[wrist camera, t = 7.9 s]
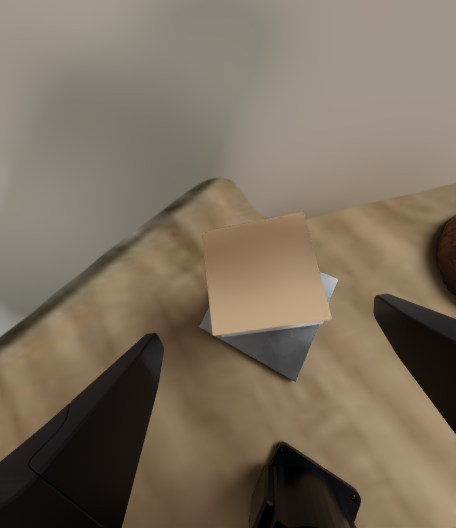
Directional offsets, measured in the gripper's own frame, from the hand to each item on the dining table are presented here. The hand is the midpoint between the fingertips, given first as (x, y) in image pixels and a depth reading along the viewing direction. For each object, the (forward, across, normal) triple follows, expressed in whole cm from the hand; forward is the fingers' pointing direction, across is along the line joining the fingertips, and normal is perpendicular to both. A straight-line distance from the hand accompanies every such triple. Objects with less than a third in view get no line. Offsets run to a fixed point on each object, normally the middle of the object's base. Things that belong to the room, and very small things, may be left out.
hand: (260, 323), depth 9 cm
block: (+10, 0, +7) cm, 13 cm away
